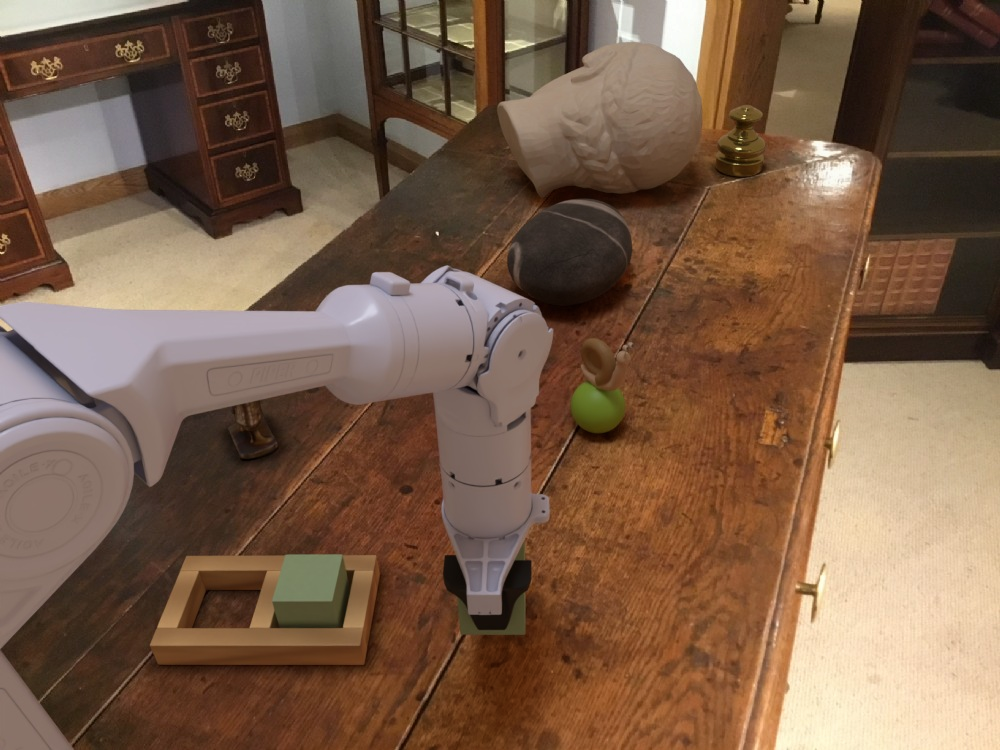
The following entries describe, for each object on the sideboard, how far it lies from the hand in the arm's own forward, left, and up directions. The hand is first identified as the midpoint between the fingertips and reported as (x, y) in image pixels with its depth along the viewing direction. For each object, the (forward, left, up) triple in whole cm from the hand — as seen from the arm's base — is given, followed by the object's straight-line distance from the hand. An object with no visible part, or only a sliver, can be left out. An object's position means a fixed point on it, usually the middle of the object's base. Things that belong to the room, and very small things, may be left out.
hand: (493, 596), depth 61 cm
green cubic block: (-6, +14, -7) cm, 16 cm away
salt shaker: (+94, +24, -7) cm, 97 cm away
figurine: (+5, +35, -7) cm, 36 cm away
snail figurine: (+27, +8, -7) cm, 29 cm away
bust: (+77, +40, -7) cm, 87 cm away
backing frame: (-8, +17, -7) cm, 20 cm away
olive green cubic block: (0, 0, -1) cm, 1 cm away
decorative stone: (+49, +26, -7) cm, 56 cm away
